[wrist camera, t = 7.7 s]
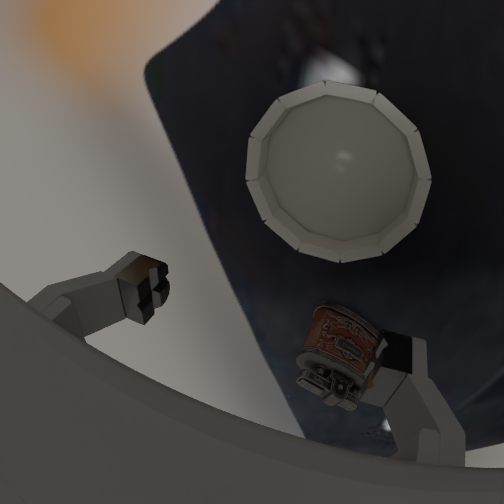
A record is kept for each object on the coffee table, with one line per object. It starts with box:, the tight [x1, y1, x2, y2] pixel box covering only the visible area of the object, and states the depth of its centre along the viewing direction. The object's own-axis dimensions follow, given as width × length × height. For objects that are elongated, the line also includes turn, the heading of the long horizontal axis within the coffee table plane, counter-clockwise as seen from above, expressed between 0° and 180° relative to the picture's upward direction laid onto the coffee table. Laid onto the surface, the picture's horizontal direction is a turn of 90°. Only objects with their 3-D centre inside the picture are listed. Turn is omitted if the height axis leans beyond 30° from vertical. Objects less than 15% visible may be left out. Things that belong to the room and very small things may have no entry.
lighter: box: [296, 301, 379, 410], centre depth 28 cm, size 8×3×10 cm, turn 65°
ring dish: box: [245, 80, 432, 263], centre depth 24 cm, size 14×14×3 cm
